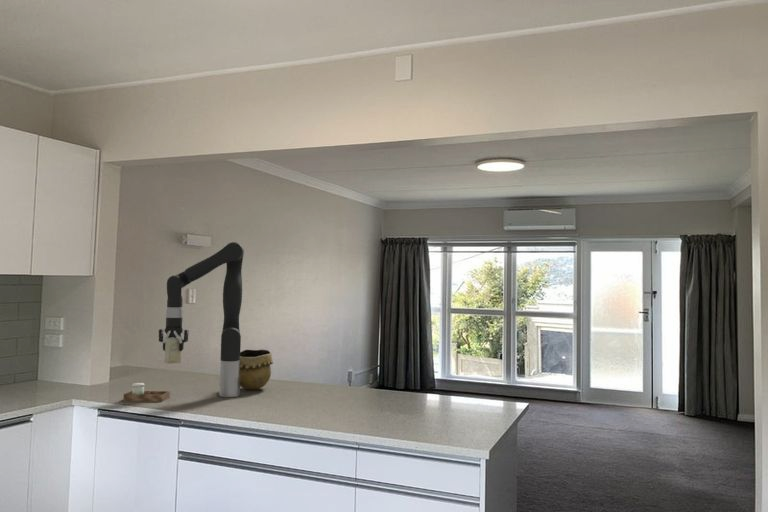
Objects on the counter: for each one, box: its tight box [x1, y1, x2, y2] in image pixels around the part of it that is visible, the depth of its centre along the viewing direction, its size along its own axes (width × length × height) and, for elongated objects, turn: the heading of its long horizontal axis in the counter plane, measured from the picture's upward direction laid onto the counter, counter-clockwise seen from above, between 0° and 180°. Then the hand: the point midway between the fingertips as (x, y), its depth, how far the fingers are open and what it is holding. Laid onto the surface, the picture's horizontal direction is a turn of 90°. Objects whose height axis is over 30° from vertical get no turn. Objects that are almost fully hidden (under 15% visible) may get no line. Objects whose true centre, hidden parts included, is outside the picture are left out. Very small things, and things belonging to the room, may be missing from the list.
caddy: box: [122, 390, 171, 403], centre depth 266 cm, size 18×9×4 cm, turn 90°
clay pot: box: [239, 348, 274, 391], centre depth 299 cm, size 21×21×20 cm
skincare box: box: [164, 337, 182, 365], centre depth 278 cm, size 6×4×12 cm
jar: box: [131, 382, 145, 394], centre depth 266 cm, size 5×5×7 cm
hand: (172, 350), depth 278 cm, fingers closed on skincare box, 7 cm apart
